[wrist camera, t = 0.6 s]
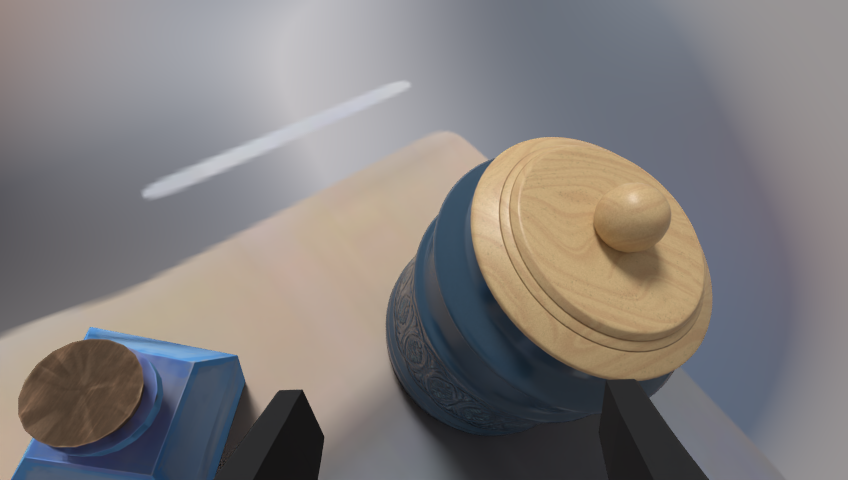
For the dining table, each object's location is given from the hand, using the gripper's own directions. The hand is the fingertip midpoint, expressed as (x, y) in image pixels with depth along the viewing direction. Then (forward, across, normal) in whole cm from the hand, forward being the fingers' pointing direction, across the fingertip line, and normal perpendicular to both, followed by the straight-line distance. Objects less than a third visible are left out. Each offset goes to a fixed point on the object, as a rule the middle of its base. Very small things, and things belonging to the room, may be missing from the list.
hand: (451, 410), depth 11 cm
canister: (+15, 0, +14) cm, 21 cm away
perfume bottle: (+6, +16, +10) cm, 20 cm away
